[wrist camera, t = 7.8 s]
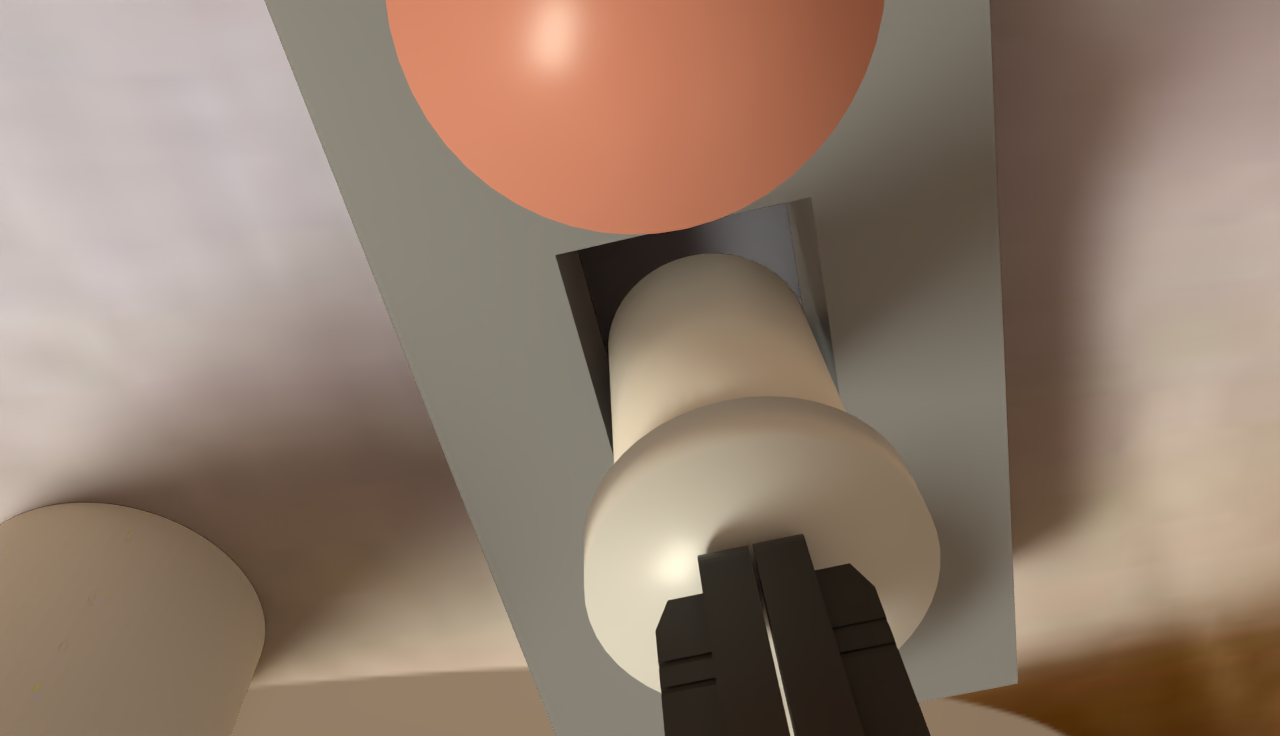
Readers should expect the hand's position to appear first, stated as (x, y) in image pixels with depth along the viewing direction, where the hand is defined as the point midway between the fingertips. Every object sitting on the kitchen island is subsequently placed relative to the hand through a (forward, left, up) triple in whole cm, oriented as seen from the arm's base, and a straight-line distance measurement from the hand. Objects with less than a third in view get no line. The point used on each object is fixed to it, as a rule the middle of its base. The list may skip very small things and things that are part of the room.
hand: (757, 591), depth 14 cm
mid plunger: (0, 0, -7) cm, 7 cm away
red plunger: (0, -8, -7) cm, 11 cm away
